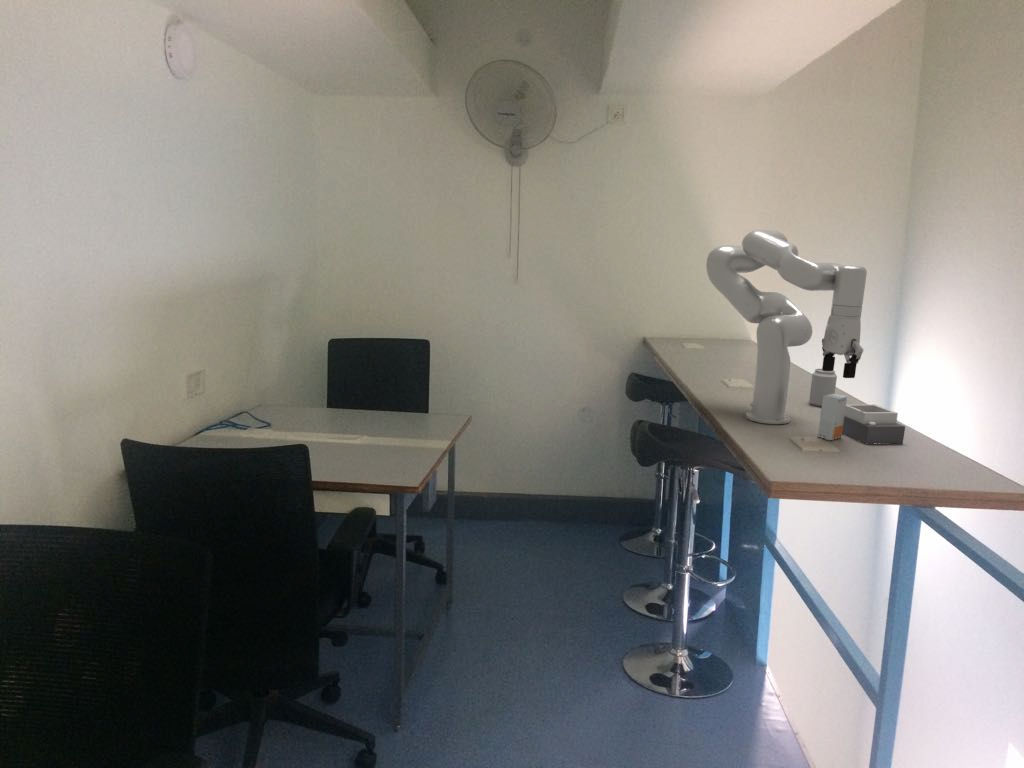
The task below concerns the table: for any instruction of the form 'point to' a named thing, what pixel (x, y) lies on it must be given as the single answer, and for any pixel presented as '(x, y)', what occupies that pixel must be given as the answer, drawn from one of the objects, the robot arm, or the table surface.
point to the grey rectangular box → (872, 424)
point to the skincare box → (832, 416)
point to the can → (822, 386)
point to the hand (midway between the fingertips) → (837, 374)
